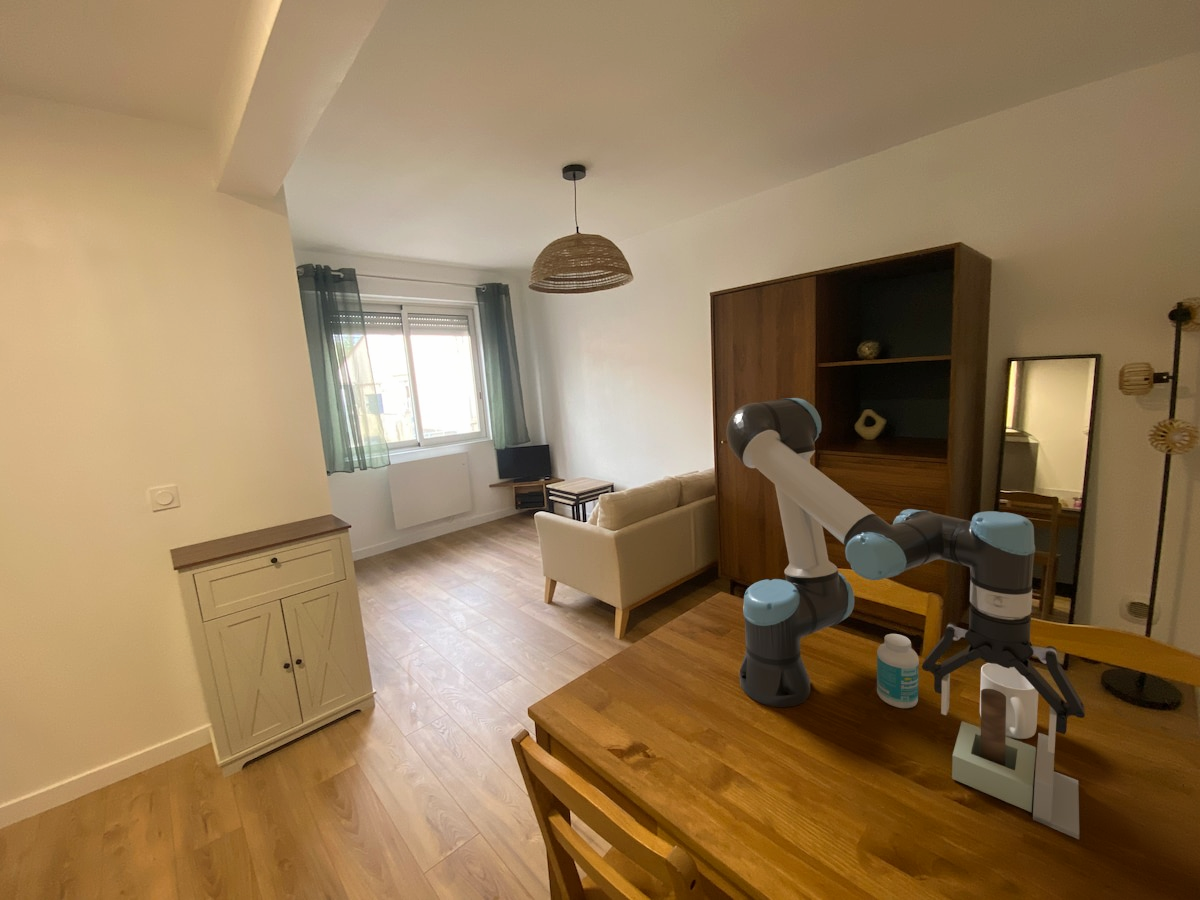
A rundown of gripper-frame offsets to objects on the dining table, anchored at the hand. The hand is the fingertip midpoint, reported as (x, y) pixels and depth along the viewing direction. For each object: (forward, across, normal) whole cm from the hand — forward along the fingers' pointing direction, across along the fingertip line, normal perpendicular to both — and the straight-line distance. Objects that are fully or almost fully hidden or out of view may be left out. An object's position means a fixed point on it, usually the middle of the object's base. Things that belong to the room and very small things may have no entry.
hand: (995, 727), depth 79 cm
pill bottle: (+9, -17, +12) cm, 23 cm away
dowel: (+9, 0, 0) cm, 9 cm away
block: (+9, 0, 0) cm, 9 cm away
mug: (+9, +1, +14) cm, 17 cm away
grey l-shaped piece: (+9, +8, 0) cm, 12 cm away
